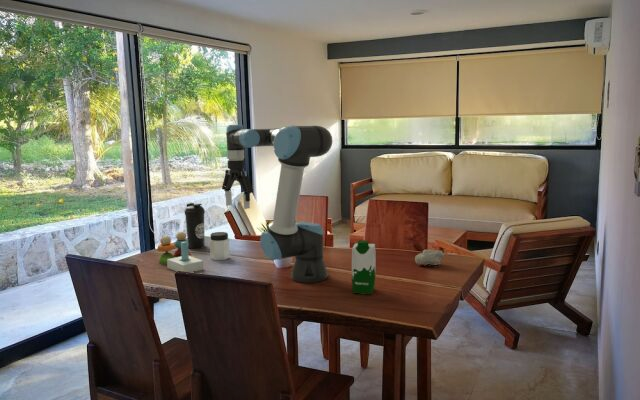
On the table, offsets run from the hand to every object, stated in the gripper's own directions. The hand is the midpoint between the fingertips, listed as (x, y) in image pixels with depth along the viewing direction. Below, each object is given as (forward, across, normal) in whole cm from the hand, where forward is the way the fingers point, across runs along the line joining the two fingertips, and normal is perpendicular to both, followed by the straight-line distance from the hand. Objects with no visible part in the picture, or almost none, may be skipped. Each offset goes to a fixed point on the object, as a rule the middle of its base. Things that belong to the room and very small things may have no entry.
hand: (237, 206), depth 233 cm
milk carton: (+27, -66, -10) cm, 72 cm away
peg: (+27, +12, +21) cm, 36 cm away
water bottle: (+27, +44, -4) cm, 52 cm away
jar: (+27, +16, 0) cm, 31 cm away
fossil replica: (+27, -64, -57) cm, 90 cm away
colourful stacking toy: (+27, +28, +14) cm, 42 cm away
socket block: (+27, +12, +21) cm, 36 cm away
